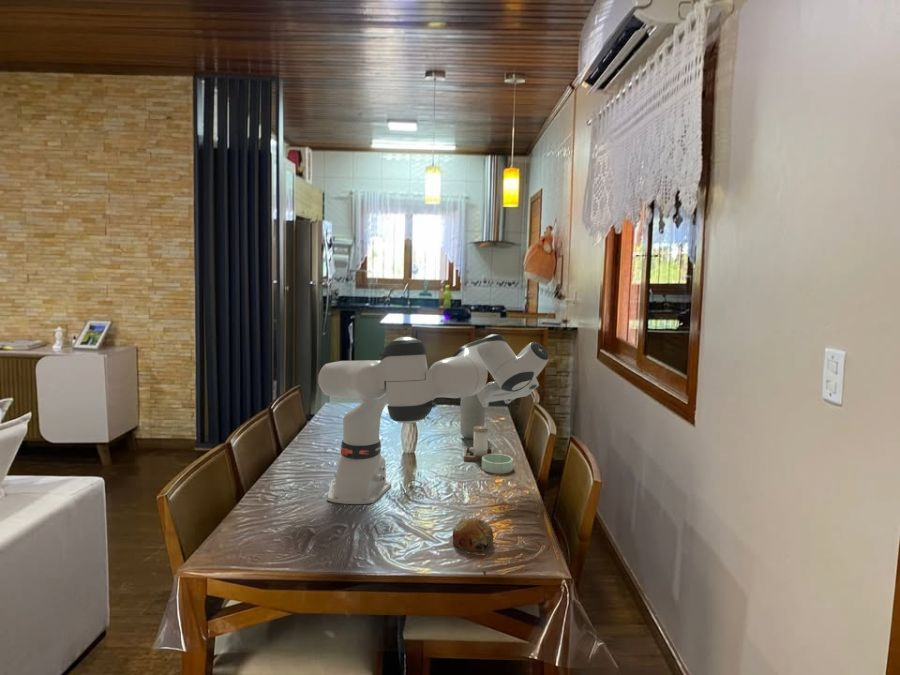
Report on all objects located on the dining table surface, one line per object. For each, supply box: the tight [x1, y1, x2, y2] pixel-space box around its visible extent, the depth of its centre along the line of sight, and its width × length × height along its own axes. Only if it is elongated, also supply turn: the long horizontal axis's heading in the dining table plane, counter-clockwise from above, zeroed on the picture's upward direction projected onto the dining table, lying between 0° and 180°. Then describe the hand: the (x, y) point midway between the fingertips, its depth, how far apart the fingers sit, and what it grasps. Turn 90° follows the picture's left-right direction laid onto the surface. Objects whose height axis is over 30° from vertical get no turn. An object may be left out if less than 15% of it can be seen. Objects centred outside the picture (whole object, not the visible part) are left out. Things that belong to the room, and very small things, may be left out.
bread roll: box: [452, 517, 494, 553], centre depth 151 cm, size 10×10×8 cm
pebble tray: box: [463, 447, 494, 463], centre depth 217 cm, size 11×10×2 cm
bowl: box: [481, 453, 514, 474], centre depth 205 cm, size 10×10×4 cm
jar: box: [472, 425, 489, 457], centre depth 215 cm, size 5×5×11 cm
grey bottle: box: [459, 394, 486, 440], centre depth 241 cm, size 10×10×28 cm
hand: (495, 403), depth 204 cm, fingers open, 8 cm apart
